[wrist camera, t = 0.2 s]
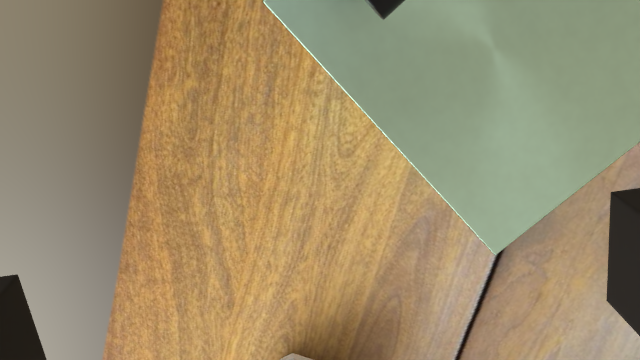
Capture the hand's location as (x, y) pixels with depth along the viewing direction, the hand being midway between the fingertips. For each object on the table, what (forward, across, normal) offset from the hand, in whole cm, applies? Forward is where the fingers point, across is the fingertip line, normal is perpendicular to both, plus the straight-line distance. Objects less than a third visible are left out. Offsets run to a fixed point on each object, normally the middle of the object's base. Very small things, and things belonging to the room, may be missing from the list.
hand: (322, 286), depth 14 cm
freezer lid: (+19, +10, +1) cm, 22 cm away
